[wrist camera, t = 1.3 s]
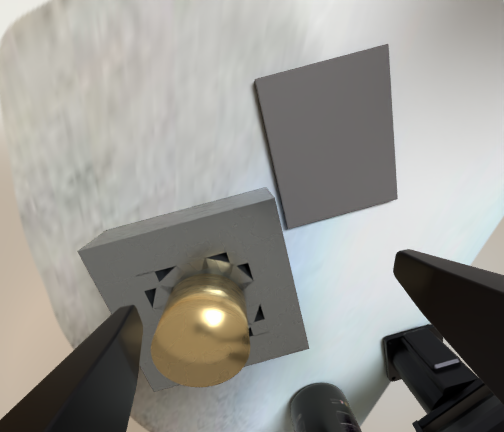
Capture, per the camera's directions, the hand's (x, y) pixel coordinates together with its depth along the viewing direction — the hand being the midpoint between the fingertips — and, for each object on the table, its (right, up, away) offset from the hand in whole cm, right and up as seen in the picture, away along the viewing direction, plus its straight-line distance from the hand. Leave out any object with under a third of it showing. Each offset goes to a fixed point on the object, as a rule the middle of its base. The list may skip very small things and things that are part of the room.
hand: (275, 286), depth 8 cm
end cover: (-5, -4, +14) cm, 15 cm away
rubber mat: (+6, +8, +12) cm, 15 cm away
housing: (-5, -3, +14) cm, 16 cm away
